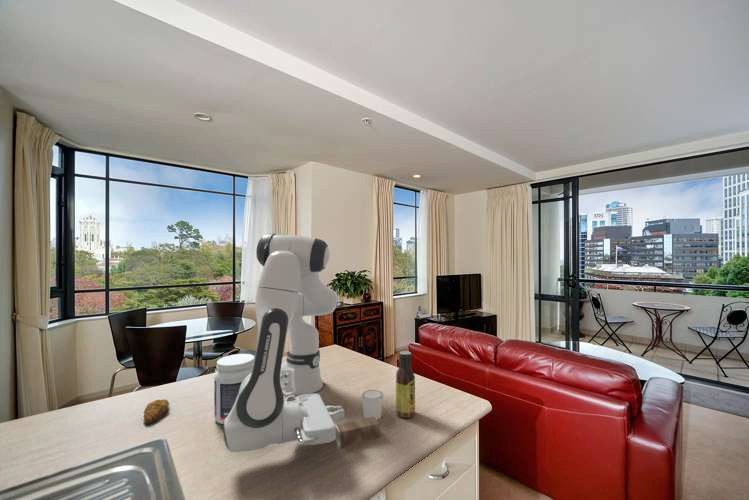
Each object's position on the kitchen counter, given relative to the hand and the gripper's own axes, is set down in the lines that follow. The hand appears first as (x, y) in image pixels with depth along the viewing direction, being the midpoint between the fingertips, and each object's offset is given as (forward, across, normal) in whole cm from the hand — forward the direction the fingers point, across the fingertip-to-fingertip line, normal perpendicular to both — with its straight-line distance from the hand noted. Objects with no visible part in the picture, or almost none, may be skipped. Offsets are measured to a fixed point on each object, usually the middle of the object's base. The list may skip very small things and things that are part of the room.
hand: (343, 410), depth 86 cm
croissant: (-52, +38, +9) cm, 65 cm away
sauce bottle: (+23, +6, +9) cm, 26 cm away
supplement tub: (-28, +27, +9) cm, 40 cm away
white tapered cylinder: (+13, +10, +9) cm, 18 cm away
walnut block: (-2, 0, +7) cm, 7 cm away
